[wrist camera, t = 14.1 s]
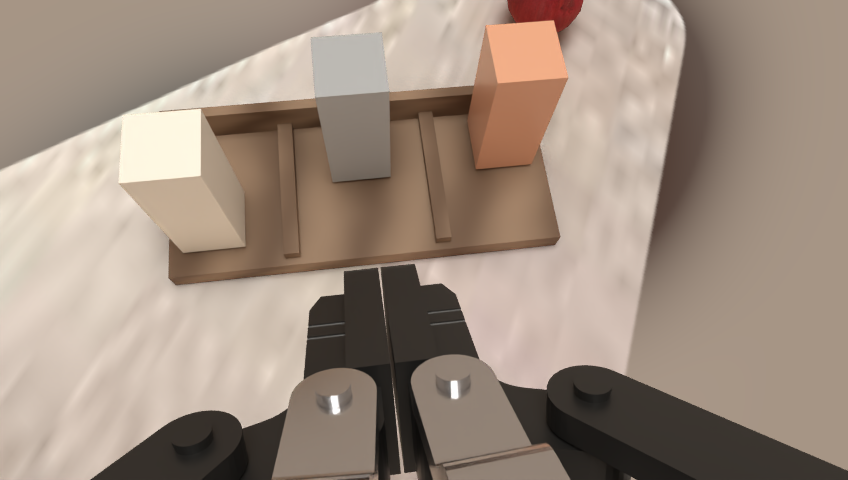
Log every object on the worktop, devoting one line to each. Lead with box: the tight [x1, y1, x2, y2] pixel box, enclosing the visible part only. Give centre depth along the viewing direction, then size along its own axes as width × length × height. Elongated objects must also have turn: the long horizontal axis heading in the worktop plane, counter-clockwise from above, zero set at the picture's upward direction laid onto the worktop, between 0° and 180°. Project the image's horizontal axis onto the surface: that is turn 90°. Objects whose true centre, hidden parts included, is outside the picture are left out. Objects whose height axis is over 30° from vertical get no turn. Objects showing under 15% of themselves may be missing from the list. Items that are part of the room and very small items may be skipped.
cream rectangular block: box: [119, 109, 246, 253], centre depth 36 cm, size 4×4×10 cm
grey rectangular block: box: [311, 32, 391, 182], centre depth 38 cm, size 4×4×10 cm
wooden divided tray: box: [159, 86, 560, 285], centre depth 42 cm, size 26×11×4 cm, turn 97°
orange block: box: [467, 20, 568, 169], centre depth 39 cm, size 4×4×10 cm
